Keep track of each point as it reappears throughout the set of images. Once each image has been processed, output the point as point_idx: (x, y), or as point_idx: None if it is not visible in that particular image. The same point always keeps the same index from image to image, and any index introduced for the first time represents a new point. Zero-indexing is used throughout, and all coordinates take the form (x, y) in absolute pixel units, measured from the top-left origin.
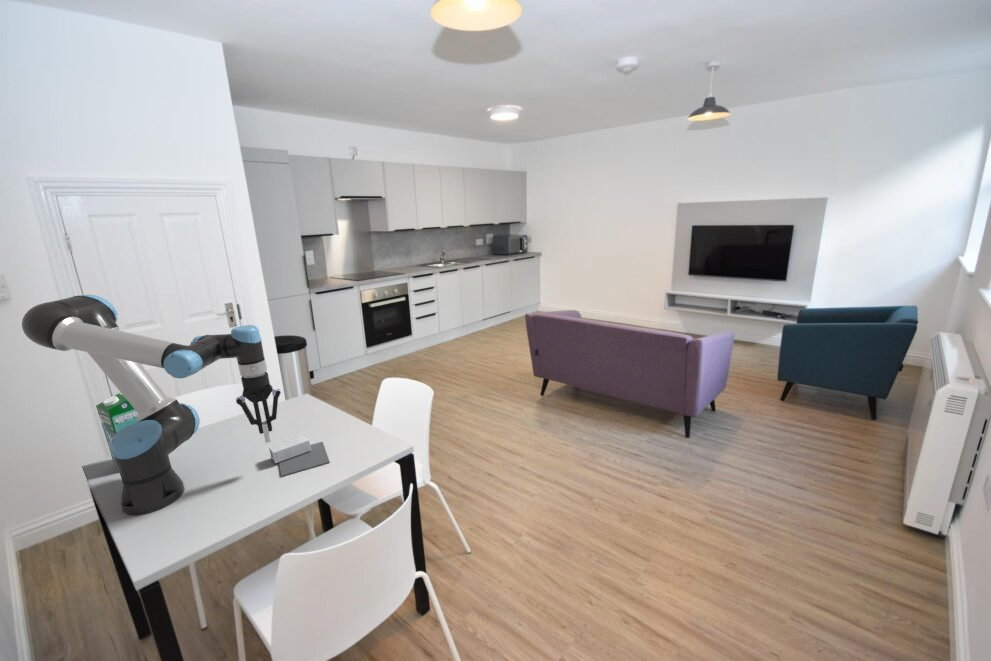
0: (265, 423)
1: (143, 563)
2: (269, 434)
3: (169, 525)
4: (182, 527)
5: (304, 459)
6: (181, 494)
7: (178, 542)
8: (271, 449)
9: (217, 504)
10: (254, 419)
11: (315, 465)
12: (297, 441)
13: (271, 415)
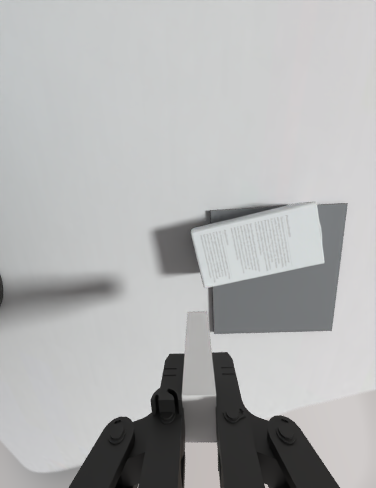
0: (207, 430)
1: (20, 452)
2: (208, 327)
3: (22, 385)
4: (47, 401)
5: (276, 286)
6: (1, 296)
7: (55, 433)
8: (199, 259)
9: (91, 364)
10: (129, 461)
11: (295, 330)
12: (286, 247)
13: (270, 458)
